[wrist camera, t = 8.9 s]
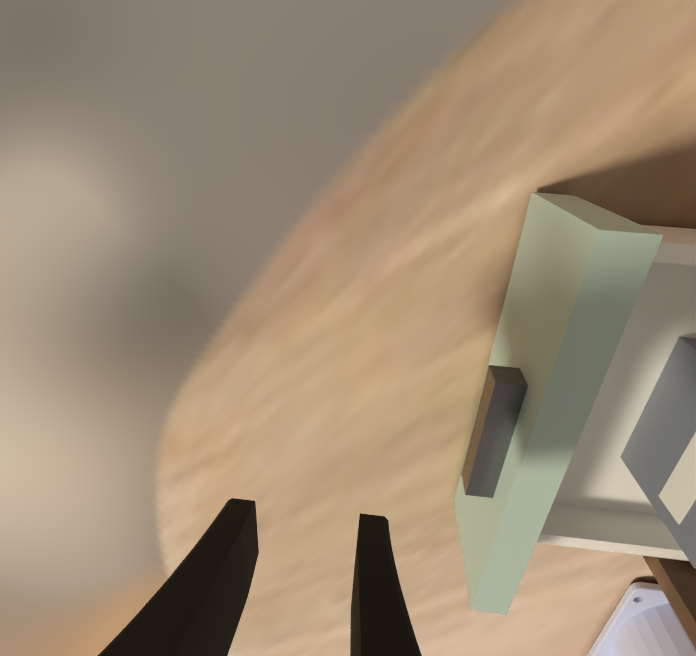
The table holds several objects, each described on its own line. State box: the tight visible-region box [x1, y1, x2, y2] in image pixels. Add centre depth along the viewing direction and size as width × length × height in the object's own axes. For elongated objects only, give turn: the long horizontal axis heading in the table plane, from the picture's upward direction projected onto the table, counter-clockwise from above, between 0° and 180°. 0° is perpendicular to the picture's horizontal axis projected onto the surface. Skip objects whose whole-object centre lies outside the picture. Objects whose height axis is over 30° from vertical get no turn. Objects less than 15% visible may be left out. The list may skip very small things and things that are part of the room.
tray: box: [454, 192, 696, 615], centre depth 15 cm, size 15×14×5 cm
